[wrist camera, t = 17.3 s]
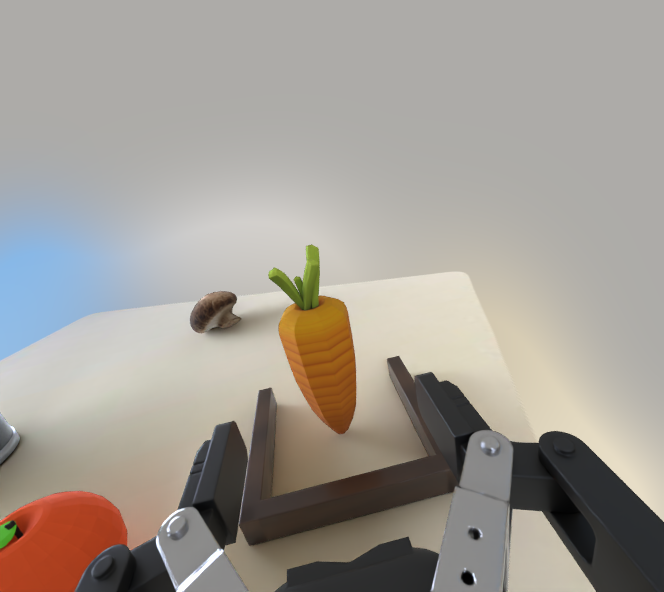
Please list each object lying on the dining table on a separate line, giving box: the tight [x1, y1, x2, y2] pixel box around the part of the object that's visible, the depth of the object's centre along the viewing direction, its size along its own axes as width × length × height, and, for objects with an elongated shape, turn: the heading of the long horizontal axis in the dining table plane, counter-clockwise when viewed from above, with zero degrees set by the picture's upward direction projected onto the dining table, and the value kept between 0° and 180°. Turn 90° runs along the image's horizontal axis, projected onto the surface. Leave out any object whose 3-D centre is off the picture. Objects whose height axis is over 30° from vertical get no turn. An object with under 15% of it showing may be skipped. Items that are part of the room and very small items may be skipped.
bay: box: [239, 356, 459, 546], centre depth 24 cm, size 12×13×2 cm
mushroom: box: [190, 291, 241, 333], centre depth 49 cm, size 8×8×6 cm
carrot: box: [269, 245, 356, 434], centre depth 23 cm, size 5×5×15 cm
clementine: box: [0, 491, 127, 592], centre depth 16 cm, size 8×7×7 cm
